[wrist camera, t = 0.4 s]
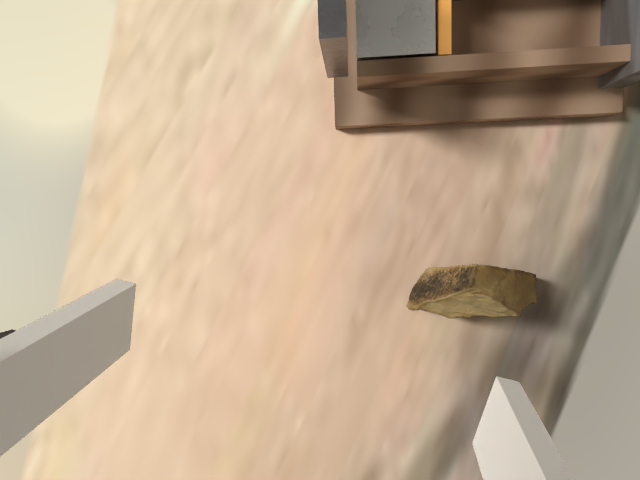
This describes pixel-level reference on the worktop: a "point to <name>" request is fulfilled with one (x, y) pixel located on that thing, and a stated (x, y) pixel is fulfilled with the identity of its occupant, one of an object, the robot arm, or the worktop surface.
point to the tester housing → (501, 66)
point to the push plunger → (376, 31)
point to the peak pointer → (443, 27)
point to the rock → (473, 291)
